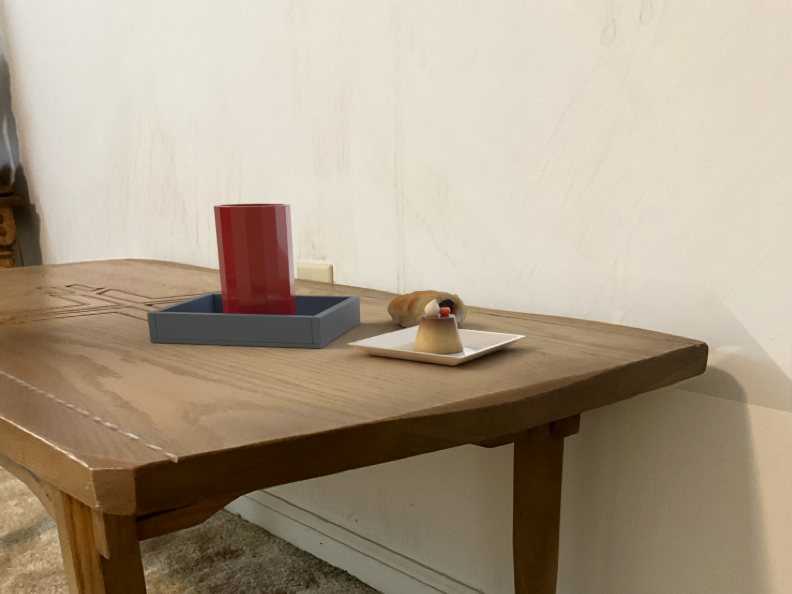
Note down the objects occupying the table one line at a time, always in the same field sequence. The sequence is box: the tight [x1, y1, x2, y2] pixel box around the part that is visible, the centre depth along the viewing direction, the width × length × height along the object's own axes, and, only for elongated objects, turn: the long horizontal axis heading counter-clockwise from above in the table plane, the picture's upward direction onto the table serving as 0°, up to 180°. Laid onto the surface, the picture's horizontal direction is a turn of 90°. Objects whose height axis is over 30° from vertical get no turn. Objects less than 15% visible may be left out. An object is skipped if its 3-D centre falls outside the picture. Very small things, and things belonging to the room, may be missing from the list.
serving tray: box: [146, 292, 361, 349], centre depth 88 cm, size 18×15×3 cm
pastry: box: [386, 289, 467, 328], centre depth 92 cm, size 9×7×4 cm
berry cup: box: [213, 203, 297, 315], centre depth 86 cm, size 7×7×12 cm
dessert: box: [347, 299, 526, 367], centre depth 77 cm, size 12×12×5 cm
